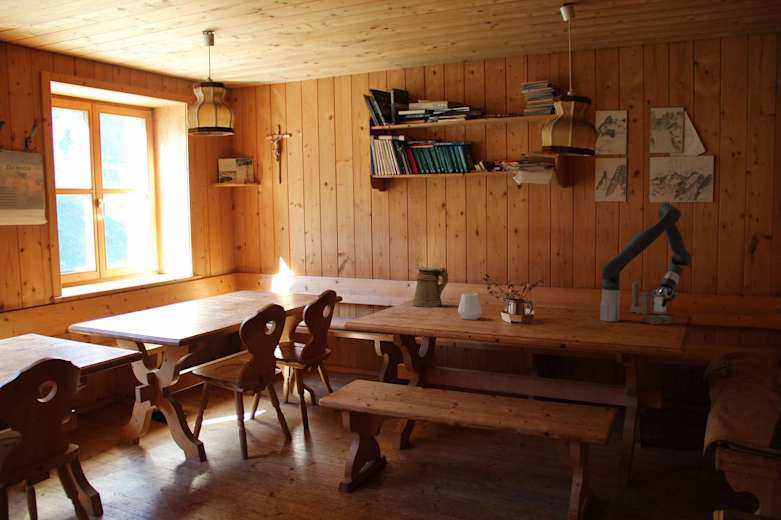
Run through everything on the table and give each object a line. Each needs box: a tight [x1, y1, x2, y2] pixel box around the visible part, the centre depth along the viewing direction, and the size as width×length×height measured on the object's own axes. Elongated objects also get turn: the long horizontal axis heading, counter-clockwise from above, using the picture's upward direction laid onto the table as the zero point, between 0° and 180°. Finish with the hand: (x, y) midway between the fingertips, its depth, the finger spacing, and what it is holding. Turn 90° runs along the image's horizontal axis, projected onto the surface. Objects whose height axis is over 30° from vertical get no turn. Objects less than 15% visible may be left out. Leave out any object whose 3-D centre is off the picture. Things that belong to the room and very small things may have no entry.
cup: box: [457, 292, 482, 321], centre depth 385 cm, size 13×13×14 cm
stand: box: [642, 315, 676, 325], centre depth 367 cm, size 14×9×3 cm, turn 109°
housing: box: [652, 294, 668, 315], centre depth 367 cm, size 5×5×10 cm
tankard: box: [412, 266, 449, 308], centre depth 435 cm, size 18×24×25 cm
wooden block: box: [630, 281, 652, 315], centre depth 400 cm, size 4×11×18 cm, turn 40°
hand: (658, 305), depth 366 cm, fingers closed on housing, 4 cm apart
